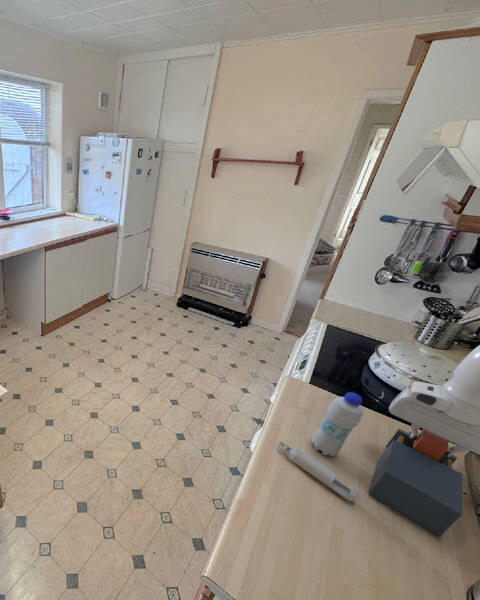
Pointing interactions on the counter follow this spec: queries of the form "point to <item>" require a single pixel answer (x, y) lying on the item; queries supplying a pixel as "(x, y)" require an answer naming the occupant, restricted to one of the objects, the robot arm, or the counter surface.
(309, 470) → the white cylindrical device
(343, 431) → the bottle
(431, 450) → the block
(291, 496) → the counter surface
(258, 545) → the counter surface
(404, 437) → the drawer
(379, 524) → the counter surface
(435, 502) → the cabinet
